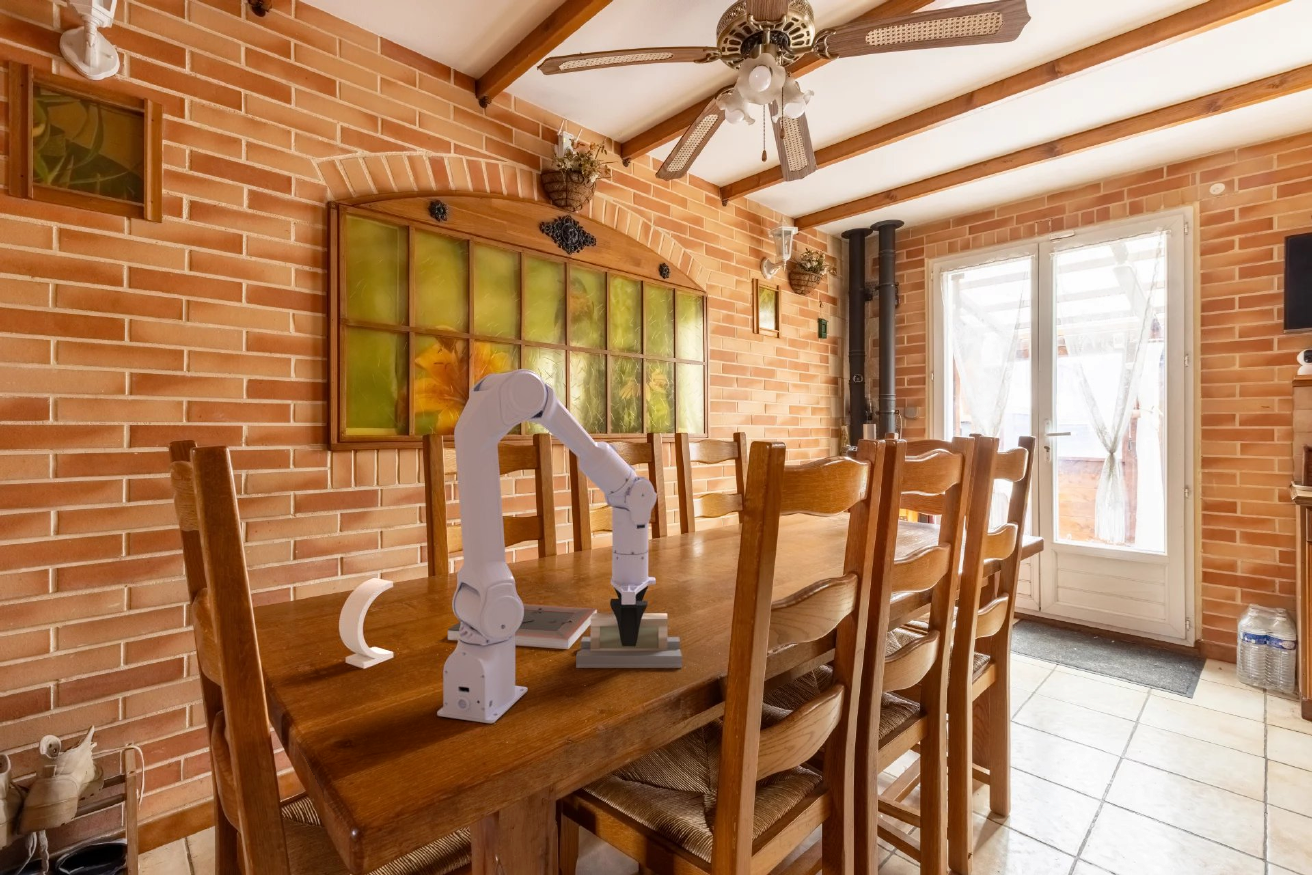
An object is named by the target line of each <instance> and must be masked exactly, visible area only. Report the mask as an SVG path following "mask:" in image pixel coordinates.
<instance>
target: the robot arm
mask: <svg viewBox="0 0 1312 875" xmlns="http://www.w3.org/2000/svg"><path fill="white" fill-rule="evenodd" d="M468 397H469V398H468V399H467V402H466V404H465V406H464V407H463V410H462V412H461V414H460V416H459V418H458V420H457V422H456V424H455V427H454V431H453V434H454V436H453V438H454V448H455V450H454V451H455V464H456V475H457V489H458V501H459V502H458V503H459V515H460V516H459V518H460V530H461V542H462V555H463V557H462V558H463V564H462V566H461V568H460V569H459V570H458V572H457V573H456V578H457V580H456V581H457V582H456V584H457V585H456V589H455V591H454V594H453V596H452V600H451V602H452V603H451V606H452V607H451V608H452V610H453V614H454V615H455V617H456V619H458V620H459V622H460V621H461V626H460V629H459V639H458V640H457V644H456V647H455V649H454V650H453V651H452V653H450V655H449V656H448V657H447V659H446V661H445V663H444V665H443V671H442V672H443V673H442V674H443V675H442V676H443V677H442V680H443V681H442V682H443V683H442V684H443V685H442V688H443V691H442V692H443V693H442V695H443V696H442V699H443V700H442V701H443V703H442V704H443V706H442V707H441V708H440V709H439V710H437V713H436V714H437V716H438V717H444V718H450V719H456V720H457V719H458V720H463V721H464V720H465V721H470V722H471V721H472V722H477V723H479V722H480V723H486V724H493V723H496V721H497V720H498V719H500V718H501V717H502V715H504V714H505V713H506V712H507V711H508V710H509V709H511V707H512V706H513V705H514V704H515V703H517V702H518V700H520V698H522V696H524V695H525V694H526V693H527V692H528V687H526V686H521V685H520V686H519V685H516V645H515V632H516V631H517V630H518V628H519V627H520V625H521V623H522V620H523V616H524V606H523V604H524V603H523V601H522V599H521V598H520V596H519V595H518V593H517V589H516V580H515V578H514V576H513V573H512V571H511V569H510V567H509V565H508V564H507V561H506V560H507V558H506V547H505V546H506V544H505V533H504V532H505V531H504V519H503V518H504V517H503V515H504V514H503V503H502V502H503V501H502V491H501V490H502V489H501V476H500V463H499V462H500V461H499V448H498V447H499V446H498V445H499V443H500V441H501V440H502V439H503V438H504V437H505V436H507V434H509V432H510V431H511V430H513V428H514V427H515V426H517V425H519V424H521V423H523V422H529V423H534V424H539V425H541V426H542V427H543V428H544V429H545V430H547V431H548V432H549V433H551V435H552V436H554V438H556V439H557V440H558V441H559V442H561V444H562V445H564V446H565V447H566V448H567V449H568V450H569V451H571V453H573V454H574V455H575V456H576V457H578V469H579V471H580V472H582V474H584V475H585V477H587V478H588V479H589V480H590V481H591V482H592V483H593V484H594V485H595V486H596V487H597V488H598V489H599V490H600V491H601V492H602V493H603V495H604V501H605V503H606V505H608V506H610V507H612V520H611V522H612V523H611V524H612V525H611V526H612V529H611V531H612V536H611V537H612V541H611V543H612V547H611V550H612V552H611V554H612V555H611V556H612V557H611V578H610V584H611V586H612V587H613V589H614V591H615V594H616V595H617V598H610V600H609V605H610V608H611V610H612V613H614V614H615V617H616V620H617V623H618V628H619V634H620V639H621V644H622V646H636V643H637V639H638V633H639V627H640V622H641V619H642V616H643V614H644V613H645V611H646V609H647V607H648V602H649V601H648V600H644V597H645V594H646V592H647V590H648V588H649V586H650V585H653V586H654V585H656V581H657V580H656V577H655V576H649V529H650V528H649V524H650V521H651V519H652V517H651V516H652V510H653V508H654V506H655V505H656V503H657V498H658V494H657V492H655V488H654V486H653V484H652V482H651V481H650V480H649V479H648V477H647V478H646V477H645V476H641V475H637V473H636V468H635V467H634V466H633V465H632V464H628V463H627V462H626V461H625V460H624V458H623V457H621V456H620V455H619V454H618V453H617V452H618V448H617V446H615V444H613V443H608V442H606V441H595V440H594V439H593V437H592V436H591V435H590V434H589V433H588V431H587V430H586V429H585V428H584V427H583V426H582V425H581V424H580V422H578V420H577V419H576V418H575V416H574V415H573V414H571V412H570V411H569V410H568V409H567V407H565V405H564V404H563V403H562V402H561V400H560V399H559V398H558V397H557V394H556V391H555V389H554V388H553V387H551V386H550V385H549V384H547V383H546V382H544V380H543V378H542V377H541V376H540V375H539V374H537V373H536V372H535V371H534V370H531V369H526V368H519V369H516V370H513V371H509V372H501V373H498V372H496V373H490V374H487V375H485V376H484V377H482V378H481V379H480V380H479V381H478V382H476V383H475V384H474V385H473V386H471V387H470V388H469V394H468Z"/></svg>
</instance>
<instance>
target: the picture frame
mask: <svg viewBox="0 0 1312 875" xmlns="http://www.w3.org/2000/svg"><path fill="white" fill-rule="evenodd" d="M523 606H524V616H523V620H522V623H521V625H520V627H519V628H518V630H517V631H516V632H515V646H520V647H521V646H523V647H535V648H548V649H549V648H550V649H561V650H562V649H563V650H569V649H570V648H571V647H572V645H573V644H574V643H575V642H576V641H577V640H578V639H579V638H580V637H581V635H582V634H584V632H585V631H586V630H587V629H588V627H589V626H591V616H592V613H598V608H593V607H592V608H591V607H576V606H575V607H574V606H560V605H559V606H558V605H547V604H545V605H544V604H532V603H530V604H528V603H523ZM460 626H461V621H460V620H459V622H457V623H456V624H454V625H453V626H451V627H450V628H448V629H447V640H450V641H458V639H459V629H460Z"/></svg>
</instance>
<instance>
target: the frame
mask: <svg viewBox="0 0 1312 875" xmlns="http://www.w3.org/2000/svg"><path fill="white" fill-rule="evenodd" d="M668 625H669V624H668V613H664V612H663V613H660V612H659V613H657V612H655V613H652V612H651V613H650V612H649V613H647V612H644V614H643V616H642V619H641V622H640V627H639V633H638V639H637V643H636V646H622V644H621V639H620V634H619V628H618V623H617V620H616V617H615V614H614V612H611V613H610V612H607V613H604V612H603V613H601V612H597V613H592V616H591V624H590V637H591V651H667V637H668Z"/></svg>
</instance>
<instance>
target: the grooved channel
mask: <svg viewBox="0 0 1312 875" xmlns="http://www.w3.org/2000/svg"><path fill="white" fill-rule="evenodd" d="M680 648H681V639H680V636H679V637H678V636H667V651H591V636H582V637H581V640H580V649H579V650H578V651H577V653H576V655H575V656H576V657H575V663H576V664H575V668H576V669H583V668H584V669H592V668H593V669H615V668H616V669H682V667H683V666H682V665H683V664H682V663H683V661H682V660H683V655H682V650H681V649H680Z"/></svg>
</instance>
